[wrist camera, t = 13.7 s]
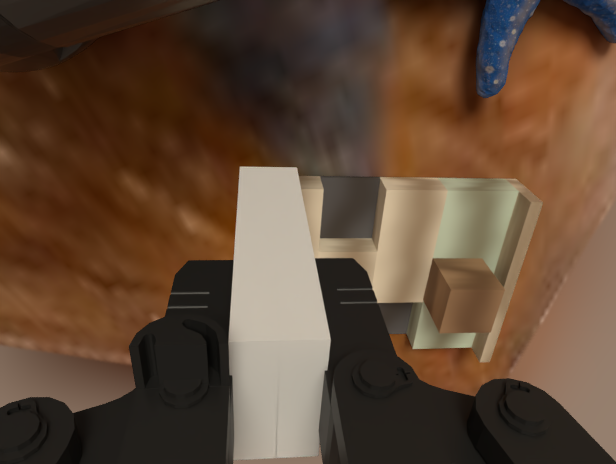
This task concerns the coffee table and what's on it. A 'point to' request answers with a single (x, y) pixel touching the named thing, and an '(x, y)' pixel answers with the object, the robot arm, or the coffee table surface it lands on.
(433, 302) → the walnut cube
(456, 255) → the board
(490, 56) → the starfish
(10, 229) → the coffee table surface
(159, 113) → the coffee table surface
